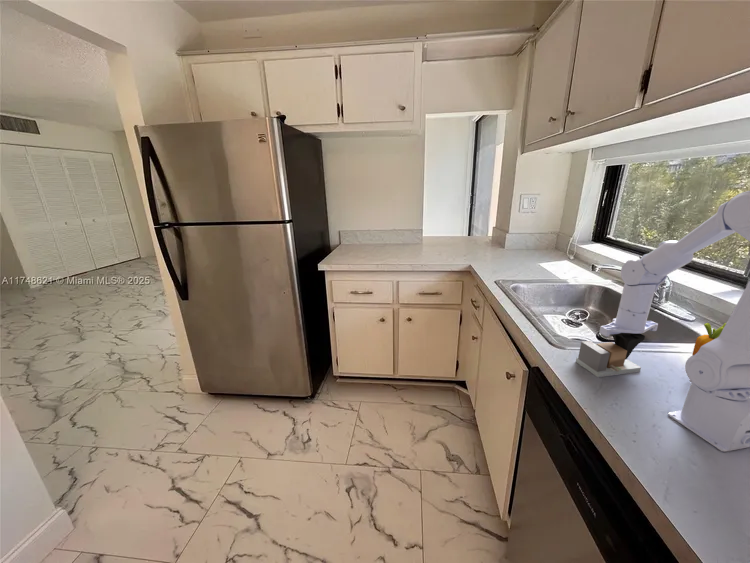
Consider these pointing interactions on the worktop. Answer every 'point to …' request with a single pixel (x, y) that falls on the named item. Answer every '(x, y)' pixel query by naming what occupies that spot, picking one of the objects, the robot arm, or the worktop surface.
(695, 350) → the carrot
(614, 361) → the block
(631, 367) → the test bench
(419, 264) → the worktop surface
